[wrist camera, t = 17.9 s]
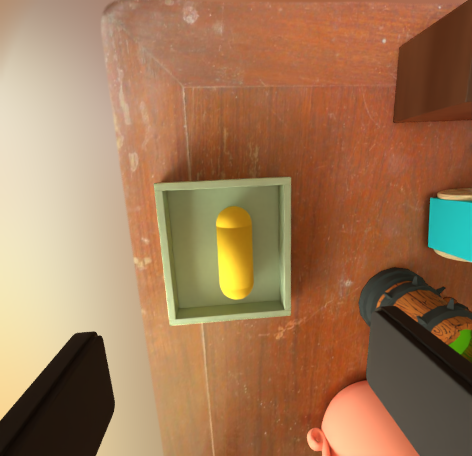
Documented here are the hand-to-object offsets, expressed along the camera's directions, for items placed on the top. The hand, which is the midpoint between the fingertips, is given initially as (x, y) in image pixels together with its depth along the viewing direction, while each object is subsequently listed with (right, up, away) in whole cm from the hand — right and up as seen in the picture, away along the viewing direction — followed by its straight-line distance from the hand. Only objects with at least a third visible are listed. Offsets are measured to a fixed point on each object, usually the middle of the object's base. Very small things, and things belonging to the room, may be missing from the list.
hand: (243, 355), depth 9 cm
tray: (-1, +2, +23) cm, 23 cm away
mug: (+23, -5, +27) cm, 36 cm away
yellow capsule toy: (-1, +2, +22) cm, 22 cm away
